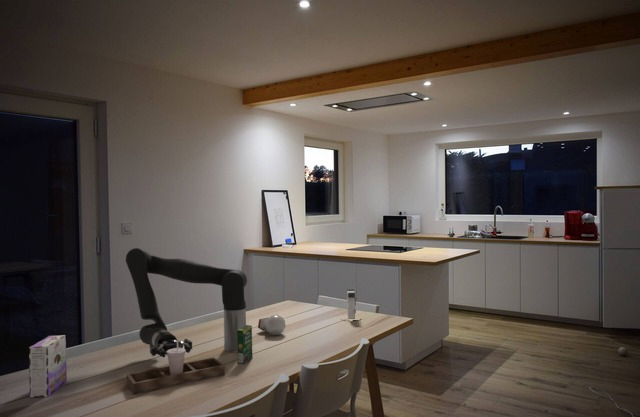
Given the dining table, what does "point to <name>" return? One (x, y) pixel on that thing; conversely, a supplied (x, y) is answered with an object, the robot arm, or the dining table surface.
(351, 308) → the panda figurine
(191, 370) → the tray
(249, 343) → the coffee box
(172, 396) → the dining table surface
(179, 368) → the smoothie
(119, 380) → the dining table surface
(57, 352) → the candy box
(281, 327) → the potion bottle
